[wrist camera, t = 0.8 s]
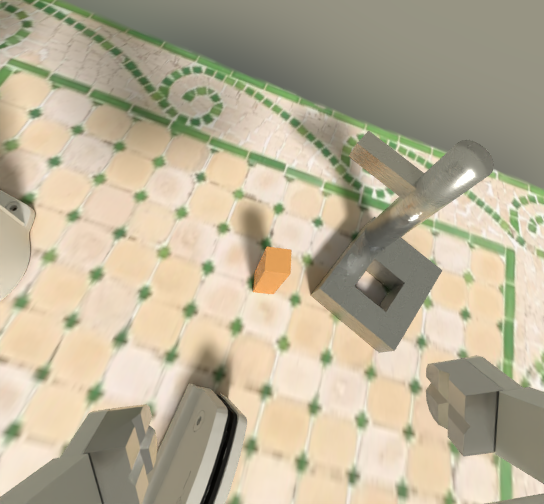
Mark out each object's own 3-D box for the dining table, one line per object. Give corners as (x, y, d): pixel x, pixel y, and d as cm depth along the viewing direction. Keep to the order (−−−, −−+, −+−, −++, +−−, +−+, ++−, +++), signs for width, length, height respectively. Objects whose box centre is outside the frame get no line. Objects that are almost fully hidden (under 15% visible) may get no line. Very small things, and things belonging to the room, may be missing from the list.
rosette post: (269, 260, 47) (316, 173, 26) (324, 197, 52) (400, 84, 32) (379, 352, 45) (520, 335, 25) (425, 278, 50) (572, 213, 30)
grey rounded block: (190, 379, 40) (219, 395, 31) (224, 393, 41) (260, 412, 33) (114, 545, 33) (124, 623, 25) (157, 554, 35) (180, 630, 26)
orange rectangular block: (252, 292, 45) (264, 270, 35) (254, 272, 46) (266, 246, 36) (273, 294, 45) (290, 273, 36) (274, 274, 46) (291, 249, 37)
